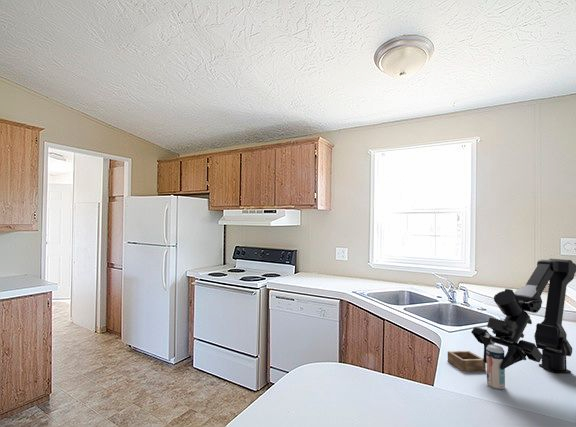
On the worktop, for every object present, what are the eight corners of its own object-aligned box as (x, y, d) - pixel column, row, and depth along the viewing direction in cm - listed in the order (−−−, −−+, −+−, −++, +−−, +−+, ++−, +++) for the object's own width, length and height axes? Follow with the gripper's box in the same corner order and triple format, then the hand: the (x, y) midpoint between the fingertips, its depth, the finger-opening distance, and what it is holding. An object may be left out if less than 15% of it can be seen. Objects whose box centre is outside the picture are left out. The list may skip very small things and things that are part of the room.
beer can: (488, 381, 101) (487, 343, 102) (506, 386, 98) (505, 346, 99) (485, 386, 97) (485, 346, 98) (504, 392, 94) (503, 350, 95)
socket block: (469, 360, 118) (468, 350, 118) (485, 370, 109) (485, 359, 110) (447, 361, 117) (447, 351, 117) (462, 371, 108) (462, 360, 109)
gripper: (474, 302, 109) (452, 339, 104) (535, 315, 92) (512, 360, 87) (489, 323, 112) (469, 360, 107) (551, 340, 95) (530, 384, 90)
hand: (492, 365), depth 98 cm, fingers closed on beer can, 5 cm apart
